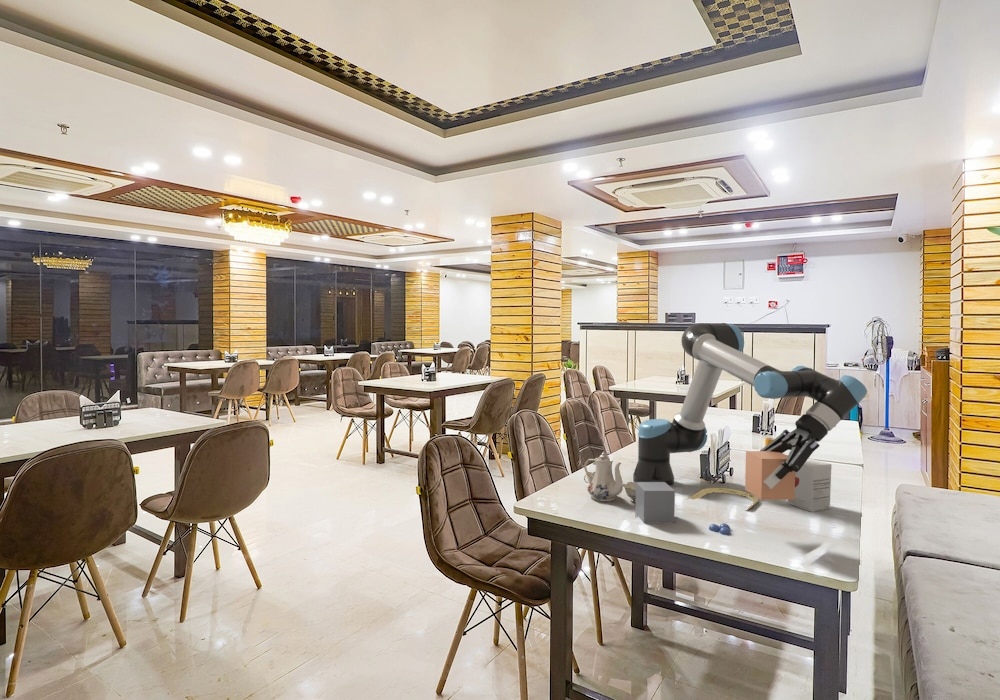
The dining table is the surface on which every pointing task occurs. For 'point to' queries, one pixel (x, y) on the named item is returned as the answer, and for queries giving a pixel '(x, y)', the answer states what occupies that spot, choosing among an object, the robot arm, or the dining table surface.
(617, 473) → the chinaware
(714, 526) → the marble
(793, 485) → the orange rectangular block
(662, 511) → the gray block
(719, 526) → the marble
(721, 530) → the marble
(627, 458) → the dining table surface
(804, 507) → the supplement box
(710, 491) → the gold curved band
